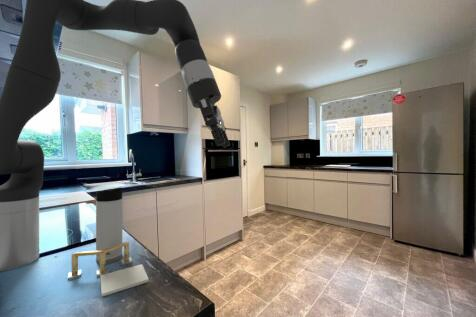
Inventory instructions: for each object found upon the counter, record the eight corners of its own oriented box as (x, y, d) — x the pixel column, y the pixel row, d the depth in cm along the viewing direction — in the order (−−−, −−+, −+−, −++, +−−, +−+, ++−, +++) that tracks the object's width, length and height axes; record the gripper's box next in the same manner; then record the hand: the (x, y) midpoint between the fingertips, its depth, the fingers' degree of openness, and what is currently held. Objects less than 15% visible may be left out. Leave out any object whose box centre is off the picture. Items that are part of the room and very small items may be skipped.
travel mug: (111, 265, 54) (111, 189, 54) (90, 263, 55) (90, 188, 55) (128, 254, 60) (128, 186, 60) (109, 252, 61) (109, 185, 61)
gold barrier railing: (66, 285, 45) (66, 260, 45) (68, 275, 49) (68, 252, 49) (133, 267, 53) (133, 245, 53) (130, 259, 57) (130, 239, 57)
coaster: (101, 296, 42) (101, 294, 42) (100, 278, 48) (100, 275, 48) (148, 281, 47) (148, 279, 47) (141, 266, 54) (141, 264, 54)
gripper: (195, 98, 58) (215, 152, 58) (176, 79, 44) (202, 150, 44) (219, 88, 58) (240, 142, 57) (208, 66, 44) (235, 137, 43)
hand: (224, 145), depth 50 cm, fingers open, 8 cm apart
